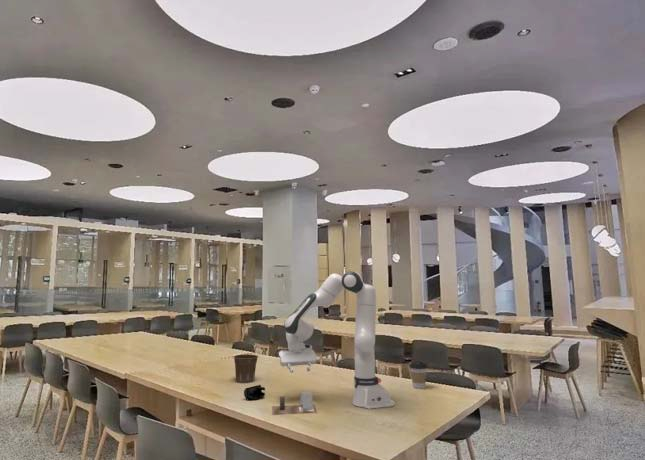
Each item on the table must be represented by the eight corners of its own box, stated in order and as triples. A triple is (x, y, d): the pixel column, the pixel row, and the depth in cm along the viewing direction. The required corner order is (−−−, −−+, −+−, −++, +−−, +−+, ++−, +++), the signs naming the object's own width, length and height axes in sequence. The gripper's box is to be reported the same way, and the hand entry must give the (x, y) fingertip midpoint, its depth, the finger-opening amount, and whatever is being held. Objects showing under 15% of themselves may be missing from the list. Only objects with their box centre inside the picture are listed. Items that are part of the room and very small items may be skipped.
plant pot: (260, 378, 276) (260, 354, 279) (254, 384, 261) (254, 358, 263) (237, 378, 278) (237, 354, 280) (229, 383, 262) (230, 358, 264)
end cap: (257, 396, 233) (257, 383, 234) (265, 398, 228) (265, 385, 229) (243, 399, 226) (243, 387, 226) (251, 402, 221) (251, 389, 222)
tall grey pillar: (309, 407, 205) (309, 391, 206) (312, 409, 200) (312, 394, 201) (300, 407, 204) (300, 392, 205) (302, 410, 199) (302, 395, 200)
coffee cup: (429, 390, 243) (428, 364, 245) (410, 389, 246) (409, 364, 248) (428, 385, 254) (427, 361, 257) (409, 385, 257) (409, 360, 259)
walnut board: (314, 407, 210) (314, 392, 211) (317, 416, 196) (317, 400, 198) (272, 409, 208) (272, 394, 209) (272, 418, 194) (272, 401, 195)
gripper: (278, 347, 222) (282, 369, 211) (314, 345, 228) (319, 366, 217) (277, 354, 225) (280, 376, 215) (312, 352, 231) (317, 373, 221)
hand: (300, 371), depth 216 cm, fingers open, 8 cm apart
